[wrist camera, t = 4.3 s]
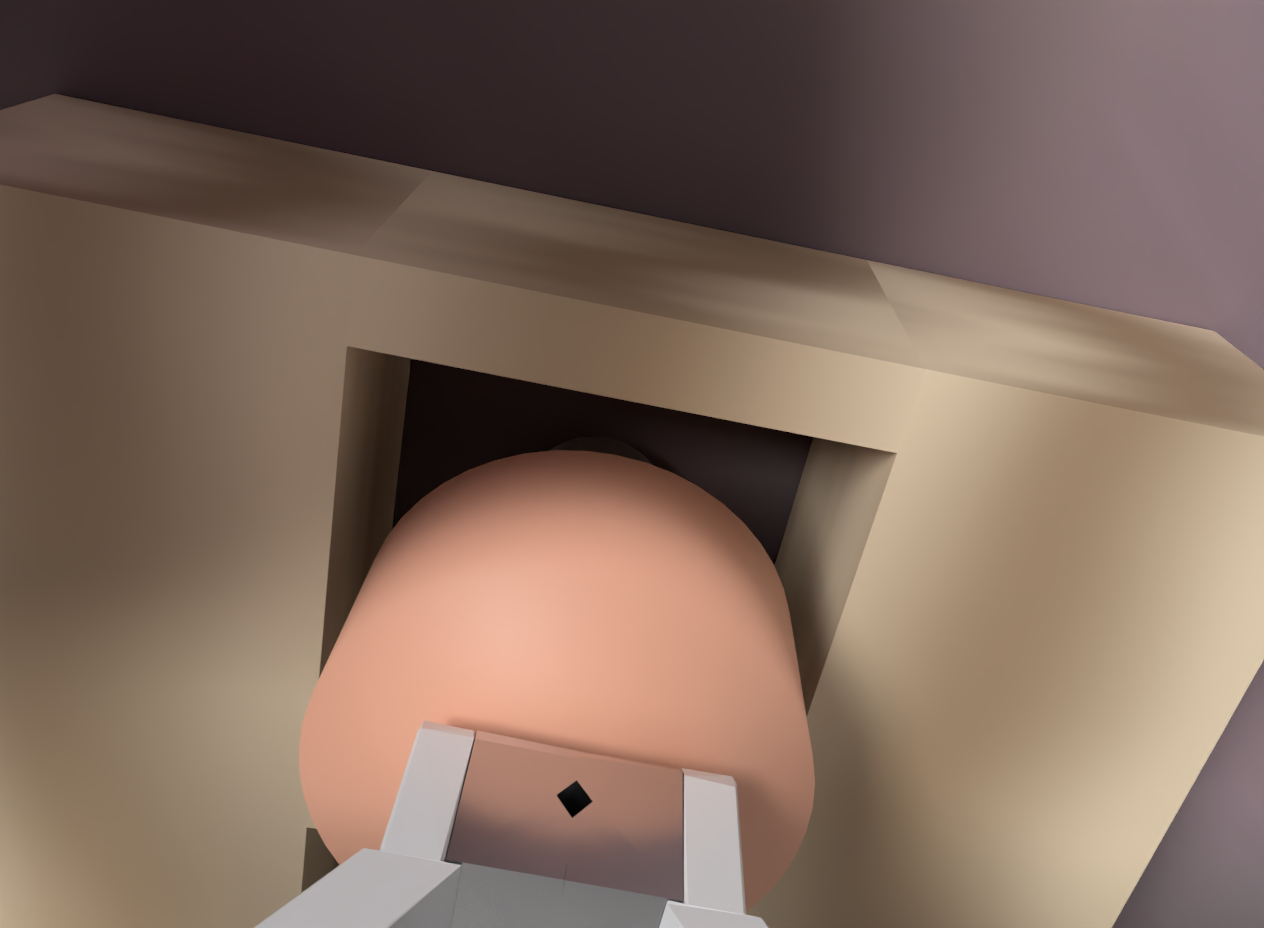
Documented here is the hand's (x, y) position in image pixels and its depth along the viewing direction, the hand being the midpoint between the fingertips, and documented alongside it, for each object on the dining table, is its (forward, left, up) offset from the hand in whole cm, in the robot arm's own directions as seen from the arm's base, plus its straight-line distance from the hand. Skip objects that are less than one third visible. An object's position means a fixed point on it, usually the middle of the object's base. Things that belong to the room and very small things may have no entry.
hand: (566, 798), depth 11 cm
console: (0, +7, -7) cm, 10 cm away
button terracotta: (0, 0, -6) cm, 6 cm away
